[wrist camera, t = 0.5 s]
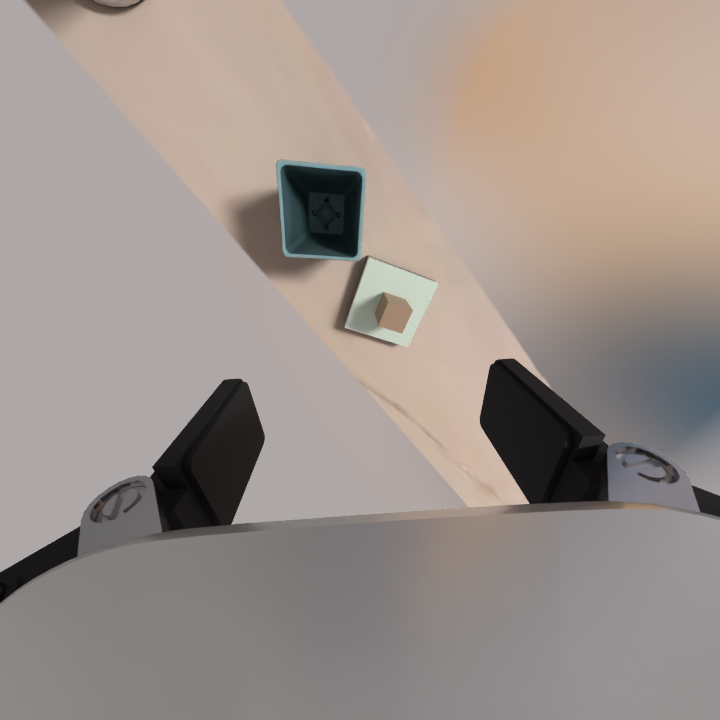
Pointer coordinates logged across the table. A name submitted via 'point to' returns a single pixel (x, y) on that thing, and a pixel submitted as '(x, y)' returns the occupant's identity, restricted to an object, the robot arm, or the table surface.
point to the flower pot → (321, 209)
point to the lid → (389, 302)
